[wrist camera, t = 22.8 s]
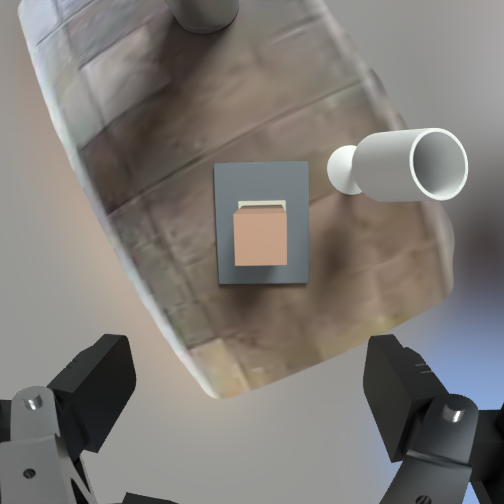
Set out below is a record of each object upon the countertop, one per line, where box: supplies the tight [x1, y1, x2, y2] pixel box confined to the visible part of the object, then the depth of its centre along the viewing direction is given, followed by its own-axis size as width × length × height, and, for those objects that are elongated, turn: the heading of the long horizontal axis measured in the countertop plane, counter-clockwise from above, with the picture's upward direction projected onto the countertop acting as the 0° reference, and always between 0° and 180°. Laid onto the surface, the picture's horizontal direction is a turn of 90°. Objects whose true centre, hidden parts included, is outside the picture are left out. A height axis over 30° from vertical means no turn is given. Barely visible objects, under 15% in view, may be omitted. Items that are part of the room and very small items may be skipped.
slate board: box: [214, 161, 309, 284], centre depth 43 cm, size 16×12×1 cm
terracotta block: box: [233, 208, 287, 266], centre depth 34 cm, size 5×5×6 cm
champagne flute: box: [327, 128, 468, 202], centre depth 29 cm, size 7×7×24 cm
